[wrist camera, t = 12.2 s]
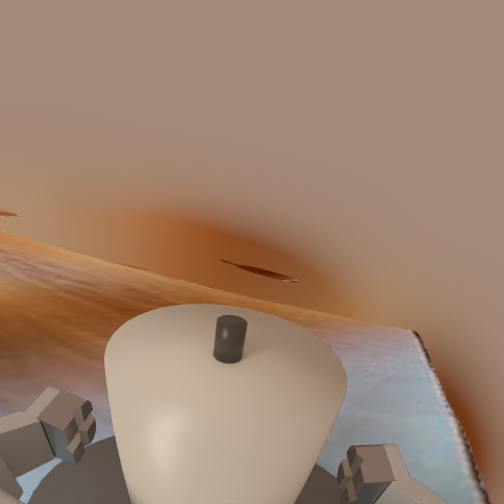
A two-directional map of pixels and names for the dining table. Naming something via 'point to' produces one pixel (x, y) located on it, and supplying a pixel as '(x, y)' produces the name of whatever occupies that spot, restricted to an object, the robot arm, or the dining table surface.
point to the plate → (115, 489)
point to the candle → (219, 404)
